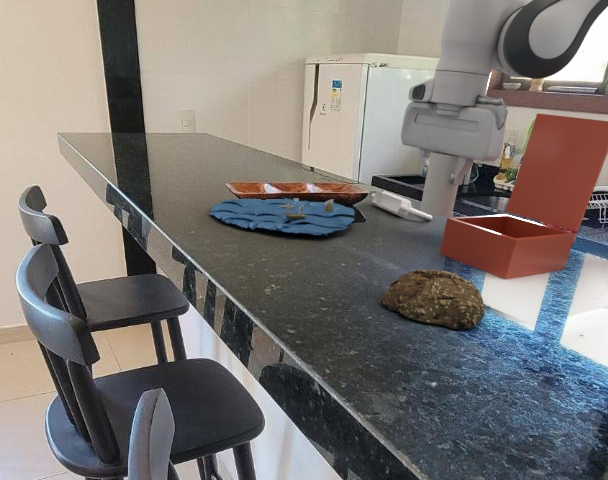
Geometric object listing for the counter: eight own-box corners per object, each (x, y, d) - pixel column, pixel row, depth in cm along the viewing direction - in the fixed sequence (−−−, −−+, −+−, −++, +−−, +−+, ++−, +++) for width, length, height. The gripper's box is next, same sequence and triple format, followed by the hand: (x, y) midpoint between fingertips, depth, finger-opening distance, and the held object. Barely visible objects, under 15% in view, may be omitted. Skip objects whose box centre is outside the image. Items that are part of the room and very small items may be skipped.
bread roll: (478, 301, 72) (488, 265, 70) (485, 336, 61) (497, 295, 59) (385, 285, 74) (391, 250, 72) (376, 316, 63) (383, 277, 61)
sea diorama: (238, 249, 87) (238, 217, 85) (194, 206, 111) (193, 180, 108) (390, 239, 98) (394, 211, 96) (321, 202, 122) (323, 178, 119)
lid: (616, 122, 78) (619, 122, 79) (536, 113, 88) (539, 114, 89) (575, 231, 85) (578, 231, 86) (505, 211, 95) (508, 211, 95)
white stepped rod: (435, 229, 117) (442, 212, 116) (407, 220, 113) (414, 202, 112) (388, 208, 133) (394, 193, 132) (362, 199, 129) (367, 184, 128)
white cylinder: (435, 208, 100) (446, 151, 96) (458, 214, 96) (471, 156, 91) (413, 209, 97) (423, 151, 93) (436, 216, 93) (448, 156, 88)
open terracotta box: (504, 284, 80) (516, 239, 77) (438, 258, 90) (447, 217, 87) (562, 274, 89) (575, 234, 85) (496, 251, 98) (506, 214, 95)
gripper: (523, 100, 82) (499, 192, 88) (427, 91, 96) (413, 170, 103) (497, 96, 78) (474, 192, 85) (402, 87, 93) (389, 170, 99)
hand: (440, 180), depth 94 cm, fingers closed on white cylinder, 6 cm apart
